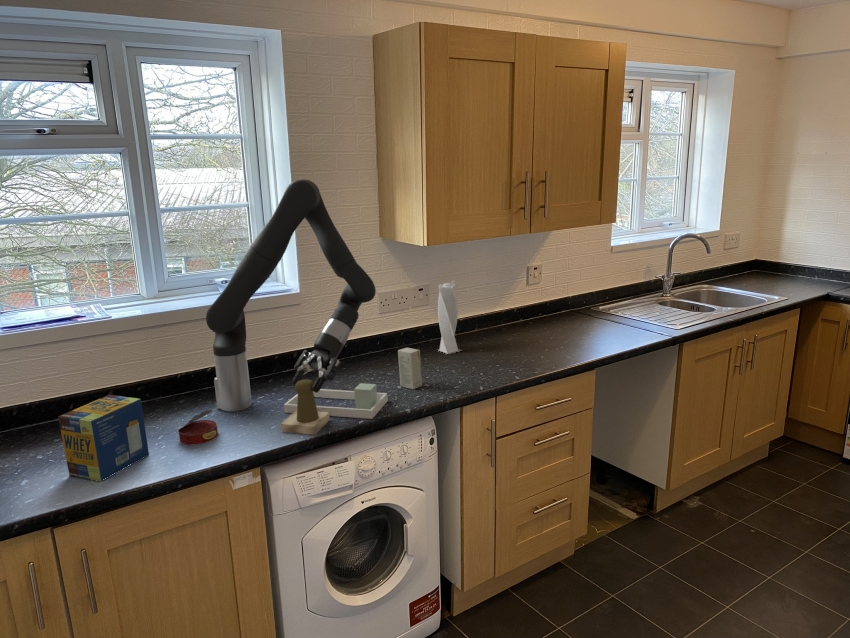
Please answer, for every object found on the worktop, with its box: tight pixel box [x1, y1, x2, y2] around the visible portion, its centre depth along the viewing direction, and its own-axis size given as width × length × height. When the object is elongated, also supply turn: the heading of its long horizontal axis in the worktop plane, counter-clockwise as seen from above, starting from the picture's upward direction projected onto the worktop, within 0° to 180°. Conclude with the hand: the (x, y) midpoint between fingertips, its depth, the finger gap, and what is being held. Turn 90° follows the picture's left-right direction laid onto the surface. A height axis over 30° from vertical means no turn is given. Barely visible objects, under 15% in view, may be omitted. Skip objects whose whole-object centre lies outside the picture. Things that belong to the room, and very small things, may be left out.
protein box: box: [57, 394, 150, 482], centre depth 152 cm, size 10×15×16 cm
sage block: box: [353, 382, 378, 410], centre depth 183 cm, size 5×5×7 cm
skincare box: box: [397, 347, 423, 390], centre depth 200 cm, size 6×4×12 cm
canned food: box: [177, 409, 219, 446], centre depth 168 cm, size 11×10×10 cm
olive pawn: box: [294, 378, 319, 423], centre depth 171 cm, size 6×6×11 cm
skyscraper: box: [437, 279, 463, 355], centre depth 234 cm, size 8×8×28 cm
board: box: [279, 410, 331, 436], centre depth 173 cm, size 10×10×2 cm
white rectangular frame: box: [283, 388, 388, 420], centre depth 186 cm, size 27×14×2 cm, turn 75°
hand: (304, 388), depth 171 cm, fingers open, 8 cm apart
